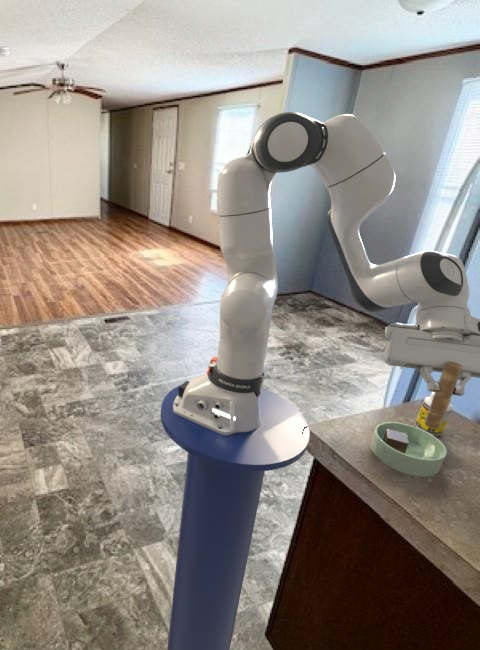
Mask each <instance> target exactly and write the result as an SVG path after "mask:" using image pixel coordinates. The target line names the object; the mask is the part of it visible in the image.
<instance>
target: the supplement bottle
mask: <svg viewBox="0 0 480 650" xmlns="http://www.w3.org/2000/svg"><path fill="white" fill-rule="evenodd" d="M434 394H435V392H431V393H430V395H429V396H426V397H424V399H423V403H422V405H421V407H420V410H419V412H418V415H417V418H416V420H415V423H414V425H415V427H417V428H420V429H422V430H424V431H426V432H428V433H430V434H432V435H433V436H440V435H442V434H443V432H444V430H445V428H446V425H447V422H448V421H449V419H450V416H451V414H452V412H453V409H454V407H453V404H451V403H452V400H453V396H452V397H451V400H450V402H449V405H448V408H447V410H446V413H445V416H444V419H443V421H442V424H441V427H440V428H439V429H434V428H430V427H428V426H426V425H425V423H424V422H425V419H426V416H427V414H428V411H429V408H430V405H431V402H432V399H433V397H434Z"/></svg>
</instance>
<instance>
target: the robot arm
mask: <svg viewBox="0 0 480 650" xmlns="http://www.w3.org/2000/svg"><path fill="white" fill-rule="evenodd" d="M307 166H309V167H311V168H312V169H313V170H314V171H315V172H316V173H317V174H318V175H319V177H320V179H321V180H322V183H323V184H324V186H325V187H326V189H327V191H328V194H329V197H330V202H331V205H330V206H331V208H330V209H329V210H328V211H327V215H326V222H327V226H328V229H329V234H330V236H331V239H332V242H333V244H334V247H335V250H336V253H337V255H338V258H339V260H340V263H341V265H342V268H343V270H344V273H345V275H346V279H347V283H348V284H347V285H348V289H349V293H350V296H351V299H352V301H353V303H355V305H356V306H358V307H359V308H361V309H363V310H365V311H367V312H370V313H378V312H383V311H385V310H389V309H392V308H394V307H399V306H403V305H404V306H405V305H409V304H412V303H417V310H416V313H415V324H409V323H401V322H393V323H391V324H387V326H386V327H385V329H384V338H385V340H386V344H385V348H384V356H383V360H384V361H385V363H386V364H387V365H389V366H394V367H401V368H407V369H413V370H414V369H415V370H419V375H420V377H421V378H422V379H423V381H424V382H425V383H426V390H427V392H431V393H432V392H437V391H439V390H440V387H439V385H440V383H439V381H437V380H435V379H434V377H433V376H432V373H433V372H436V373H442V371H443V368H444V365H445V363H446V362H455V363H458V364H461V365H462V366H463V367H462V370H461V373H460V376H459V378H458V382H457V384H456V386H455V389H454V392H453V394H452V396H457V397H462V396H464V395H465V394H466V393H465V386H466V385H467V384H468V382H469V381H470V380H471V379H472V378H476V379H477V378H479V379H480V319H479V318H477V317H475V316H472V315H471V311H470V308H469V305H468V300H469V298H470V288H469V281H468V275H467V272H466V269H465V265H464V263H463V261H462V260H461V258H459V257H458V256H456V255H454V254H450V253H443V252H442V253H441V252H438V251H434V250H425V251H420V252H416V253H413V254H410V255H406V256H403V257H400V258H397V259H393V260H391V261H388V262H385V263H381V264H374V263H371V262H370V259H369V258H368V255H367V252H366V249H365V246H364V244H363V241H362V238H361V235H360V227H361V225H362V223H363V222H365V220H366V219H368V218H369V217H370V216H371V215H372V214H373V213H375V212H376V210H378V209H379V208H380V207H381V206H382V205H383V204H384V203H385V201H386V200H387V199H388V198H389V197H390V195H391V193H392V192H393V190H394V187H395V182H396V172H395V170H394V167H393V165H392V163H391V161H390V159H389V157H388V155H387V153H386V152H385V150H384V149H383V147H382V145H381V144H380V143H379V141H378V139H377V138H376V137H375V135H374V134H373V133H372V132H371V131H370V130H369V128H368V127H367V126H366V125H365V124H364V122H362V121H361V120H360V118H358V117H357V116H356V115H353V114H349V113H344V114H340V115H339V114H338V115H336V116H333V117H331V118H329V119H327V120H325V121H324V122H321V121H320V120H317V119H315V118H312V117H310V116H309V115H306V114H304V113H300V112H298V111H297V112H296V111H285V112H281V113H278V114H275V115H273V116H271V117H269V118H267V119H266V120H265V121H263V123H262V124H261V125H260V126H259V128H258V129H257V131H256V133H255V134H254V137H253V139H252V142H251V144H250V146H249V149H248V150H247V153H246V155H244V156H241V157H237V158H235V159H232V160H230V161H228V162H226V163H225V164H224V165H223V166H222V167H221V169H220V170H219V171H218V176H217V186H216V187H217V188H216V212H217V214H216V215H217V223H218V235H219V236H218V237H219V245H220V246H219V247H220V251H221V252H220V253H222V257H223V258H224V263H225V268H226V272H227V281H228V282H227V286H226V288H225V289H224V290H223V293H222V294H221V297H220V305H219V343H218V350H217V356H212V358H211V359H210V361H209V364H208V366H207V369H206V373H204V374H201V375H198V376H195V377H194V378H192V379H191V380H190V381H189V380H185V381H184V382H183V383H182V384H180V385H181V386H180V387H179V388H178V392H179V394H178V396H177V397H176V399H175V401H174V404H173V411H174V413H175V414H177V415H179V416H181V417H183V418H186V419H188V420H190V421H192V422H194V423H197V424H199V425H201V426H203V427H206V428H208V429H210V430H212V431H215V432H217V433H219V434H221V435H225V436H227V435H231V434H233V433H238V432H248V431H252V430H254V429H256V428H257V427H259V425H260V424H261V416H260V408H259V398H260V393H261V391H262V388H264V387H263V386H264V380H265V378H264V377H265V371H264V367H265V360H266V354H267V348H268V343H269V334H270V327H271V321H272V314H273V310H274V306H275V302H276V299H277V295H278V291H279V285H278V284H279V283H278V272H277V264H276V256H275V250H274V241H273V239H274V238H273V224H272V223H273V221H272V205H271V186H272V182H273V180H274V178H275V177H276V175H277V174H280V173H281V174H282V173H289V172H292V171H296V170H298V169H299V170H300V169H302V168H304V167H307Z"/></svg>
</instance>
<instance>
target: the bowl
mask: <svg viewBox="0 0 480 650" xmlns="http://www.w3.org/2000/svg"><path fill="white" fill-rule="evenodd" d="M386 429H390V430H394V431H398V432H402V433H405V434H407V437H408V446H407V449H406V452H405V454H404V453H402V452H399V451H397V450H395V449H394V448H392V447H390V446H389V445H387V444H386V443H385V442H384V441H383V438H384V435H385V432H386ZM370 449H371V451H372V453H373V455H374V456H375V457H376V458H377V459H378V460H380V461H381V462H382V463H383V464H385V465H386V466H388V467H390V468H392V469H394V470H395V471H397V472H400V473H403V474H407V475H410V476H414V477H421V478H423V477H424V478H425V477H432V476H436V475H437V474H438V473H439V472H440V470H441V469H442V466H443V464H444V461H445V459H446V457H447V453H448V451H447V448H446V446H445V445H444V443H443V442H442V441H441V440H440V439H439V438H437V437H436V435H432V434H430V433H428V432H426V431H424V430H422V429H420V428H417V427H416V426H414V425H413V424H412V425H411V424H407V423H403V422H399V421H398V422H396V421H384V422H381V423H379V424H377V425H376V426H375V428H374V430H373V433H372V436H371V440H370Z"/></svg>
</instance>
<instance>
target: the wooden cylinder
mask: <svg viewBox="0 0 480 650" xmlns="http://www.w3.org/2000/svg"><path fill="white" fill-rule="evenodd" d="M462 367H463V366H462V365H461V364H458V363H455V362H446V363H445V365H444V368H443V371H442V372H441V374H440V377H439V380H438V382H439V383H440V385H439V387H440V390H439V391H437V392H435V394H434V397H433V399H432V402H431V405H430V408H429V411H428V414H427V416H426V419H425V422H424V423H425V425H426V426H428V427H430V428H434V429H439V428H440V427H441V424H442V421H443V419H444V416H445V413H446V410H447V408H448V405H449V402H450V400H451V397H452V398H453V395H452V394H453V392H454V389H455V386H456V384H458V382H459V380H458V378H459V376H460V373H461V370H462ZM451 401H452V400H451Z"/></svg>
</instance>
